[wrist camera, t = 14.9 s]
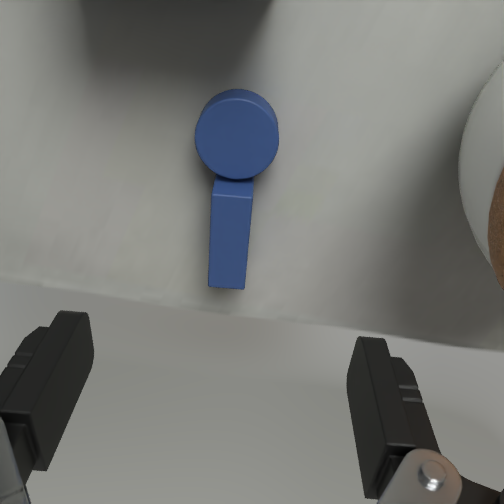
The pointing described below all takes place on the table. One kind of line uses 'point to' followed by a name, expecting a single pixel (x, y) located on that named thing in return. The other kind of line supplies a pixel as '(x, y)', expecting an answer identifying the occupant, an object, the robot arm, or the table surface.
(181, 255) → the table surface
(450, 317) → the table surface
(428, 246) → the table surface
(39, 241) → the table surface
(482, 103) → the trinket box
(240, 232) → the blue spoon
